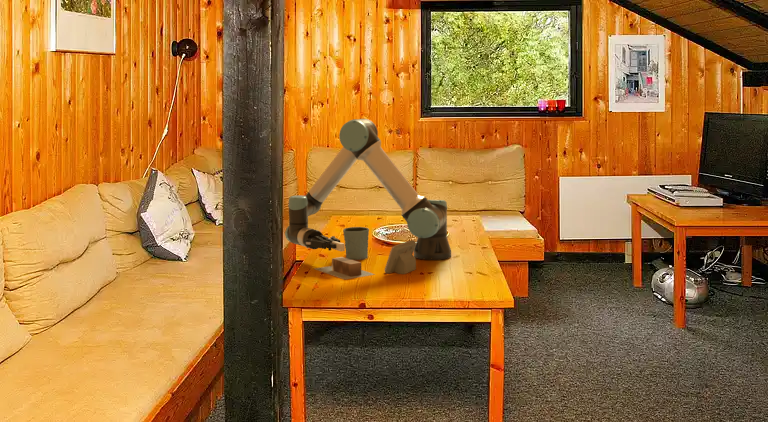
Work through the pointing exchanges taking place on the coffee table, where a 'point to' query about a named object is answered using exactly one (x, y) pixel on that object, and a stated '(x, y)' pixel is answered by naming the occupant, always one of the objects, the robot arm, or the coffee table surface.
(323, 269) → the felt mat
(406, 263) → the digital clock
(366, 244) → the grey green cup
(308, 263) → the coffee table surface
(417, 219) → the robot arm
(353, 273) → the walnut block
